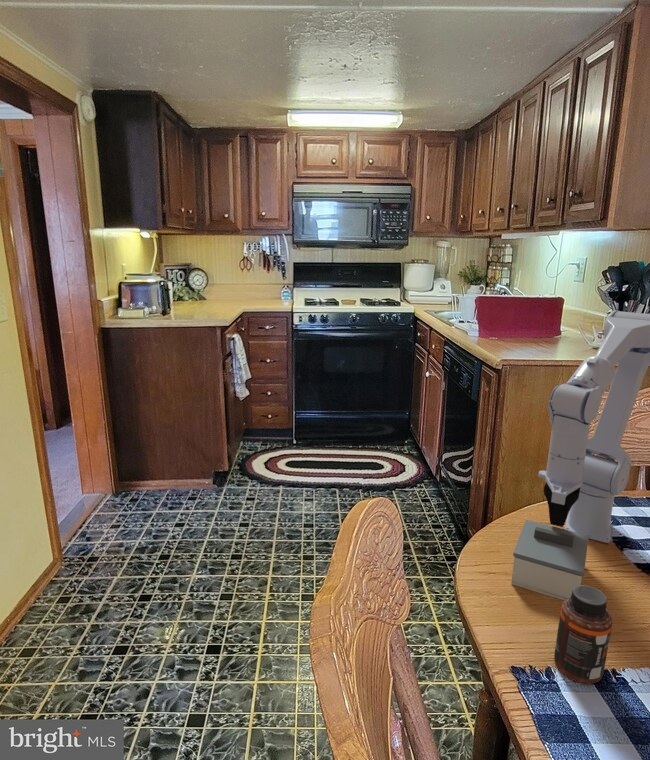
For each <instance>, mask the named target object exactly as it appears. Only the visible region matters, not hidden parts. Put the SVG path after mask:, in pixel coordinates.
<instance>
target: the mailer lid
mask: <svg viewBox="0 0 650 760" xmlns="http://www.w3.org/2000/svg"><path fill="white" fill-rule="evenodd" d="M588 544H589V535H585V534H581V533H577V532H573V531H569V530H565V528H562V527H559V526H555V525H553V526H552V525H551V524H550V525H549V524H545V523H542V522H537V521H533V520H529V519H525V520H524V523H523V525H522V529H521V532H520V534H519V537H518V540H517V542H516V544H515V548H514V551H513V553H512V555H513V557H519V558H522V559H526V560H529V561H533V562H536V563H539V564H543V565H546V566H550V567H553V568H557V569H560V570H564V571H567V572H571V573H574V574H578V575H581V576H582V577H584V576H585V568H586V562H587V561H586V559H587V555H588V554H587V552H588V547H589V546H588Z"/></svg>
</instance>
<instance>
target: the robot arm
mask: <svg viewBox="0 0 650 760" xmlns="http://www.w3.org/2000/svg"><path fill="white" fill-rule="evenodd" d="M603 336H604V337H603V338H604V340H603V341H602V343H601V345H600V347H599V348H598V350H597V351H596V353H595V355H594V356H589V357H587V358H584V360H583V361H582V362H581V364H580V365H579V366H577V368H576V370H575V372H574V373H572V376H570V378H569V379H568V381H566V383H562V384H560V385H556V386H555V387H554V388H553V390H552V391H551V394H550V396H549V400H548V403H547V405H548V406H547V408H548V413H549V425H550V426H551V431H550V432H551V433H550V440H549V441H550V442H549V447H548V448H549V449H548V455H547V461H546V462H547V463H546V469H545V470H543V469H542V470H539V471H538V478H540V479H544V480H545V484H544V486H543V490H542V491H543V494H544V497H545V498H546V501H547V505H548V506H547V507H548V517H549V523H550V526H552V525H553V526H554V527H558V528H564V529H565V530H569V531H573V532H577V533H581V534H585V535H589V538H588V540H594V541H598V542H602V543H605V544H606V543H607V544H610V543H611V535H612V534H611V533H612V532H611V531H612V520H611V518H612V513H613V507H614V506H613V505H614V501H615V496H618V495H620V494H621V493H623V492H624V491H625V489H626V487H627V485H628V482H629V478H630V470H631V466H632V459H631V456H630V455H629V454H628V453H627V451H626V450H625V449H624V448H623V447H622V445H621V443H622V440H623V437H624V434H625V431H626V430H627V426H628V423H629V420H630V417H631V415H632V412H633V409H634V406H635V403H636V400H637V398H638V394H639V391H640V388H641V386H642V383H643V380H644V378H645V375H646V372H647V371H648V368H649V366H650V313H645V312H644V313H641V312H633V311H632V312H631V311H620V310H617V309H616V310H615V309H614V310H612V312H610V313H608V315H607V317H606V319H605V322H604V326H603ZM616 366H617V368H616V369H615V367H616ZM609 386H610V387H609ZM608 388H609V390H608V393H607V396H606V399H605V402H604V405H603V408H602V409H601V413H600V416H599V419H598V421H597V424H596V427H595V429H594V433H593V434H592V437H589V435H590V428H591V423H593V421H595V419H596V417H597V415H598V413H599V411H600V407H601V405H602V402H603V395H604V394H605V393H606V391H607V389H608Z"/></svg>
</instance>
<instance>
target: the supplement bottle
mask: <svg viewBox="0 0 650 760" xmlns="http://www.w3.org/2000/svg"><path fill="white" fill-rule="evenodd" d="M607 603H608V599H607V596H606V595H605V594H604V592H602V591H600V590H599V589H597V588H596V587H592V586H589V585H584V584H583V585H582V584H581V585H580V586H576V587H574V588H573V590H572V595H571V598H568V599H566V600H563V602H562V605H561V608H560V614H559V620H558V626H557V631H556V632H557V633H556V639H555V640H556V641H555V647H554V658H553V659H554V663H555V666H556V668H558V670H559V671H560V672H561V673H562V674H563V675H564V676H565V677H567V678H569V679H571V680H573V681H575V682H577V683H580V684H584V685H585V684H589V685H591V684H596V683H598V682H600V681H601V680H602V679H603V676H604V672H605V667H606V662H607V655H608V650H609V645H610V639H611V633H612V626H613V618H612V615H611V613H610V612H609V610H608V609H607V607H608V606H607Z"/></svg>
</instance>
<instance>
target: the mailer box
mask: <svg viewBox="0 0 650 760" xmlns="http://www.w3.org/2000/svg"><path fill="white" fill-rule="evenodd" d="M513 557H514V559H513V566H512V573H511V581H510V582H511V583H510V584H511V585H514V586H517V587H521V588H524V589H527V590H530V591H532V592H533V591H534V592H536V593H538V594H539V593H540V594H543V595H545V596H548V597H549V596H550V597H552V598H556V599H558V600H562V601H565V600H566V599H568V598H571V595H572V590H573V588H574V587H576V586H580V585H582V579H583V576H581V575H578V574H574V573H571V572H567V571H564V570H560V569H557V568H553V567H550V566H546V565H543V564H539V563H536V562H533V561H529V560H526V559H522V558H519V557H515V556H513Z"/></svg>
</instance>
